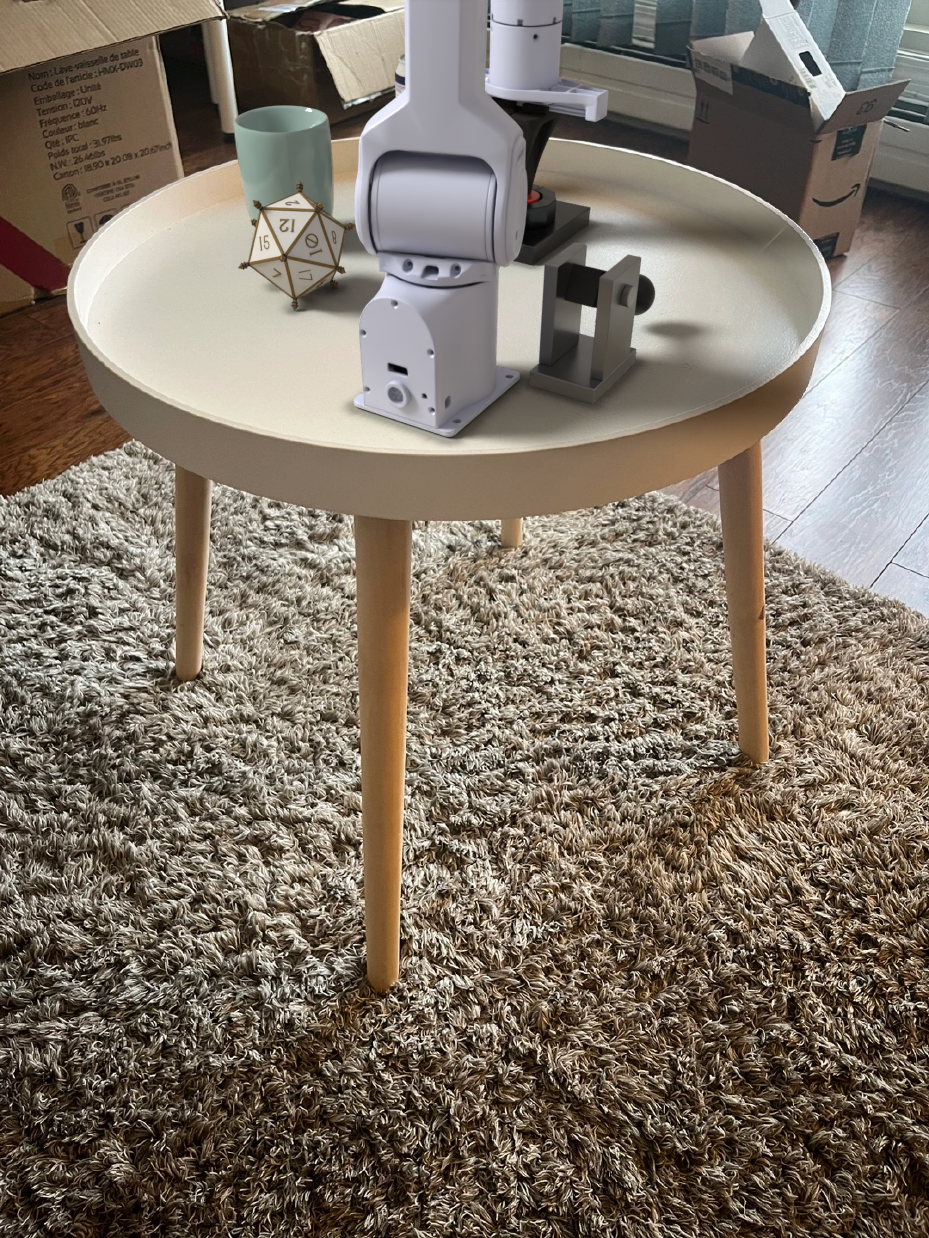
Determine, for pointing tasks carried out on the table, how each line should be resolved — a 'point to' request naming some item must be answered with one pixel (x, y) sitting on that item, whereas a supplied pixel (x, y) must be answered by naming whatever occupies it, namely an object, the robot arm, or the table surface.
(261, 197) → the cup
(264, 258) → the game die
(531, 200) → the stop button
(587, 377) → the switch bracket
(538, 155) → the robot arm
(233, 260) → the table surface
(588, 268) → the switch lever
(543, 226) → the control block
